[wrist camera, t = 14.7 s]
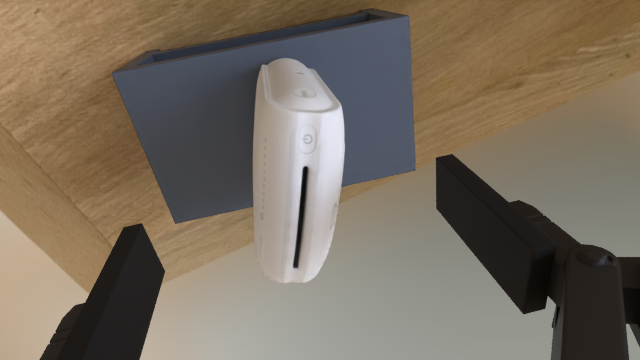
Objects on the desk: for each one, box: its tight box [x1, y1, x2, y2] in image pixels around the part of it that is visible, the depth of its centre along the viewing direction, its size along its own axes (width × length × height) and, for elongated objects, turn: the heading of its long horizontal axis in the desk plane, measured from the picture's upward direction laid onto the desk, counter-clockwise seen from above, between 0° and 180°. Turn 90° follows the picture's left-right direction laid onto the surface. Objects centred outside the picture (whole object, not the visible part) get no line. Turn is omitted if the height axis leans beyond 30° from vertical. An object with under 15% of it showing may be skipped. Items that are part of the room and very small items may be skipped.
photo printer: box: [253, 58, 345, 284], centre depth 22 cm, size 10×4×12 cm, turn 174°
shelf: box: [112, 8, 416, 224], centre depth 32 cm, size 20×12×9 cm, turn 99°
